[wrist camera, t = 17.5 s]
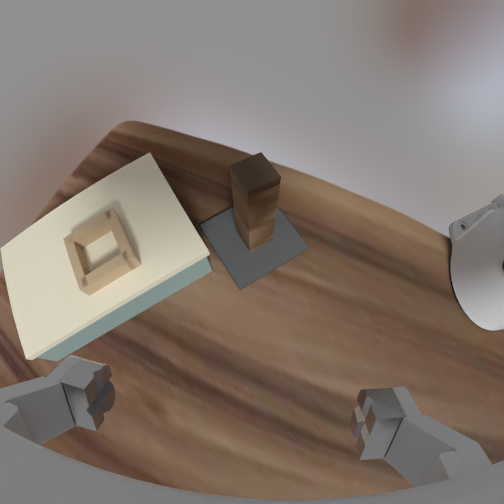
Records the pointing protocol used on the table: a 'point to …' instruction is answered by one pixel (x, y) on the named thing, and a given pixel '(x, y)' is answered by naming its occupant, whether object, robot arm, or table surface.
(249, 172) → the walnut key
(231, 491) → the table surface
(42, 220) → the cream and teal block
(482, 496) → the robot arm
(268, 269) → the key mat
